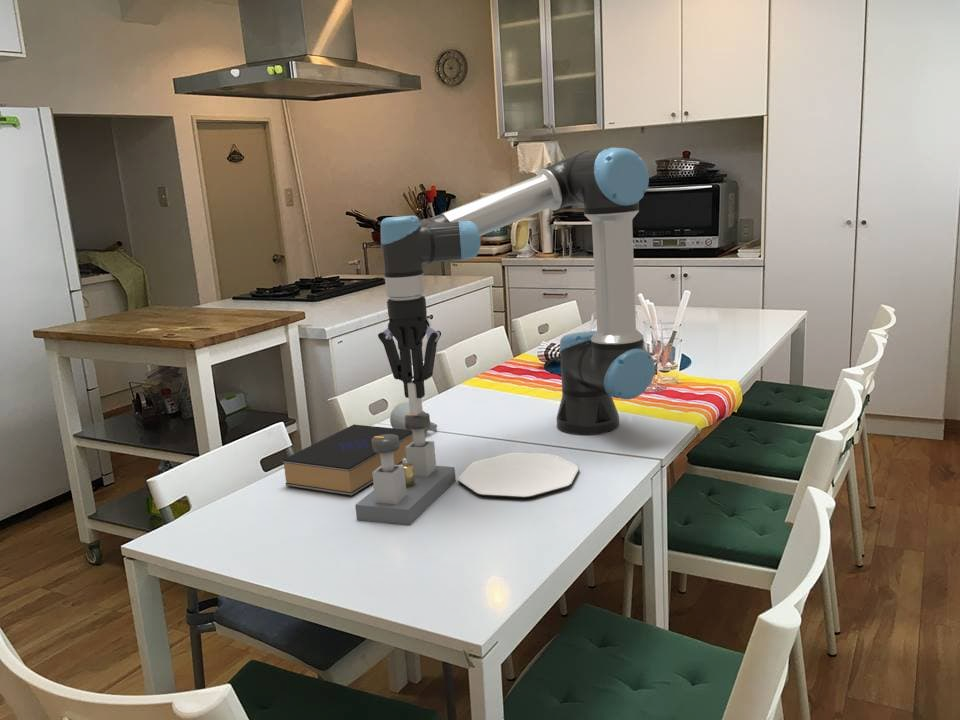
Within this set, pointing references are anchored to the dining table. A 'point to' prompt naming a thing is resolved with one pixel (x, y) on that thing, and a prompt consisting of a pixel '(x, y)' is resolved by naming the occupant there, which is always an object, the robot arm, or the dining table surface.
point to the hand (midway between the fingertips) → (416, 413)
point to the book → (342, 460)
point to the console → (401, 502)
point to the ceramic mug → (399, 418)
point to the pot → (408, 473)
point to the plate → (518, 475)
